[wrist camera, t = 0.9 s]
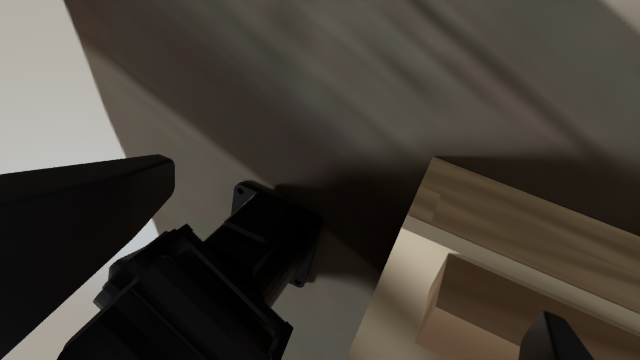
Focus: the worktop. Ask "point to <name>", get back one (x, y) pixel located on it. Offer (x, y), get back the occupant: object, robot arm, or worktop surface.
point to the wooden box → (532, 232)
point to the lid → (476, 305)
